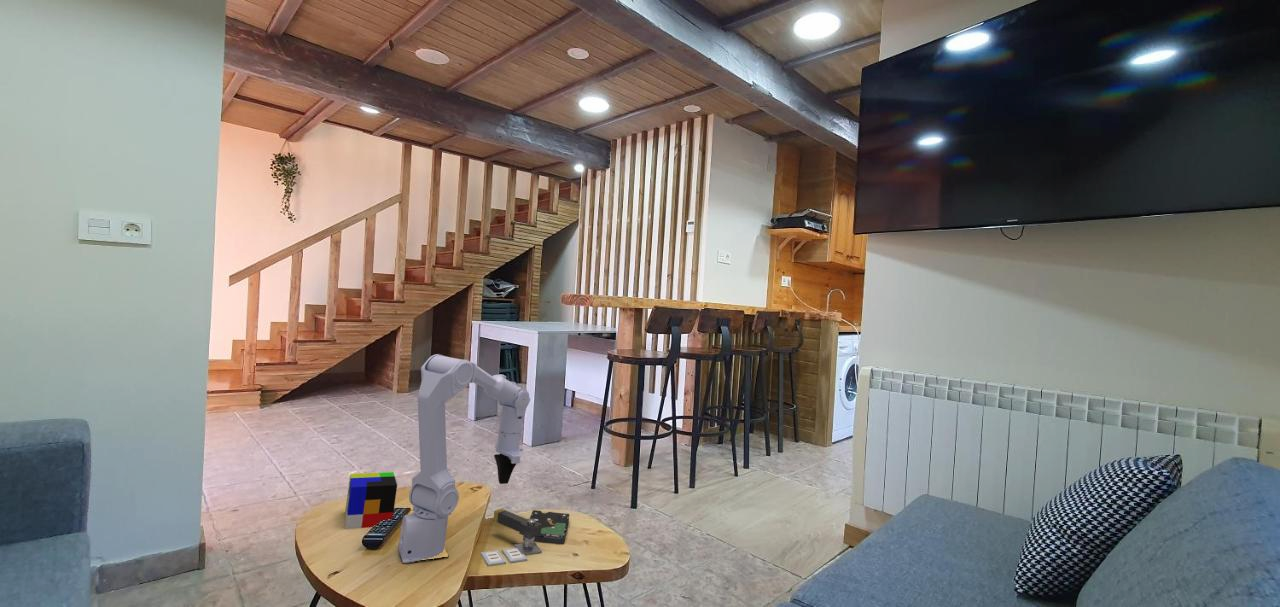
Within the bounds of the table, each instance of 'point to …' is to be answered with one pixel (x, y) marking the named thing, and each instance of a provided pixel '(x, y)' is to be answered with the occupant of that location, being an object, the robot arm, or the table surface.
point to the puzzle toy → (370, 499)
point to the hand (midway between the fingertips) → (503, 482)
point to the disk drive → (551, 526)
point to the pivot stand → (528, 544)
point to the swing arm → (517, 523)
